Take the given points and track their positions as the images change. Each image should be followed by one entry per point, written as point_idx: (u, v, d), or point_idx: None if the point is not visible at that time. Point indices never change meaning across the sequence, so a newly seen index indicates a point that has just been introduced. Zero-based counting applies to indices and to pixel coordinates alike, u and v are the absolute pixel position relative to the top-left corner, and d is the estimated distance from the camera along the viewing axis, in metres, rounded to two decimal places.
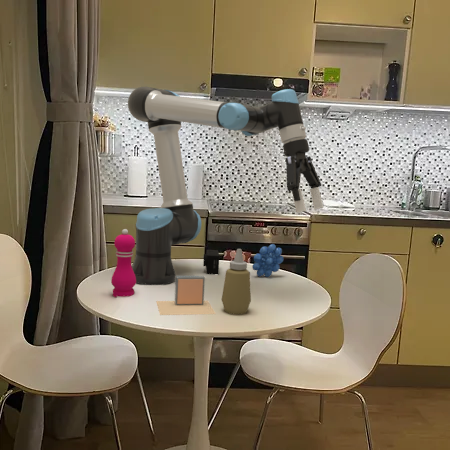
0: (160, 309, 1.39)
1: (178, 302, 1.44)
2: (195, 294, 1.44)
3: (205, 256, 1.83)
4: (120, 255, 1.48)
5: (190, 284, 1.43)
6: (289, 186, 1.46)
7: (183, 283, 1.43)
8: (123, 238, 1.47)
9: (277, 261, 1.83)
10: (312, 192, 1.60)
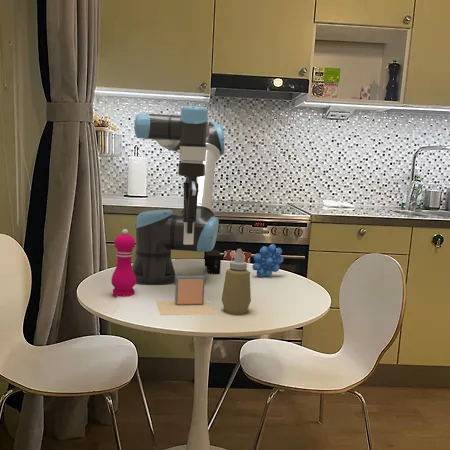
0: (160, 309, 1.39)
1: (178, 302, 1.44)
2: (195, 294, 1.44)
3: (206, 256, 1.83)
4: (120, 255, 1.48)
5: (190, 284, 1.43)
6: None
7: (183, 283, 1.43)
8: (123, 238, 1.47)
9: (277, 261, 1.83)
10: None
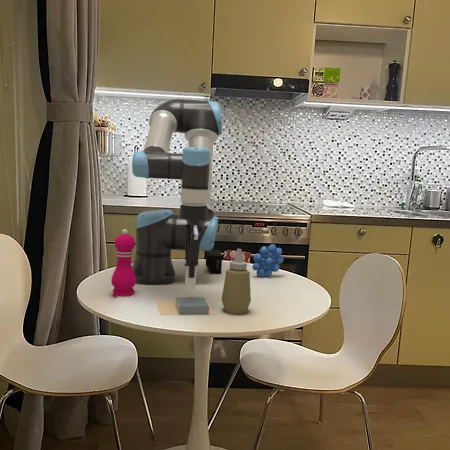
0: (160, 309, 1.39)
1: None
2: None
3: (208, 256, 1.84)
4: (120, 255, 1.48)
5: None
6: None
7: None
8: (123, 238, 1.47)
9: (277, 261, 1.83)
10: None
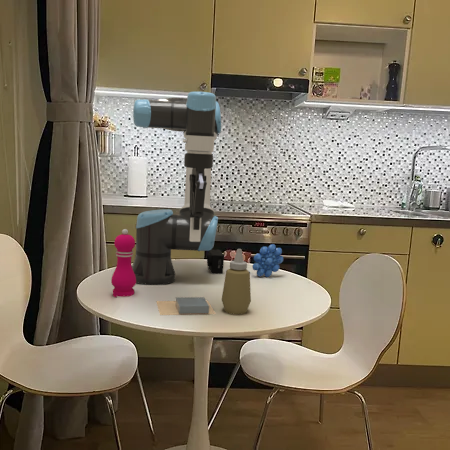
0: (160, 309, 1.39)
1: None
2: None
3: (209, 256, 1.84)
4: (120, 255, 1.48)
5: None
6: None
7: None
8: (123, 238, 1.47)
9: (277, 261, 1.83)
10: None
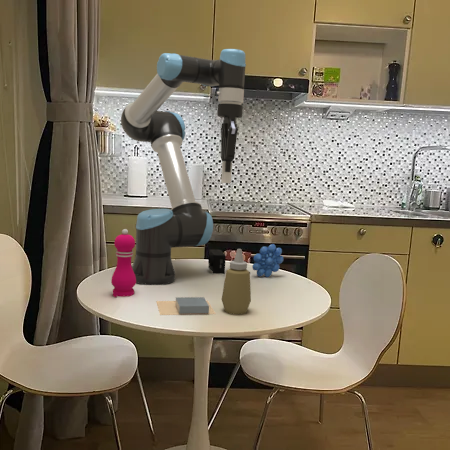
0: (160, 309, 1.39)
1: None
2: None
3: (211, 256, 1.84)
4: (120, 255, 1.48)
5: None
6: None
7: None
8: (123, 238, 1.47)
9: (277, 261, 1.83)
10: None
